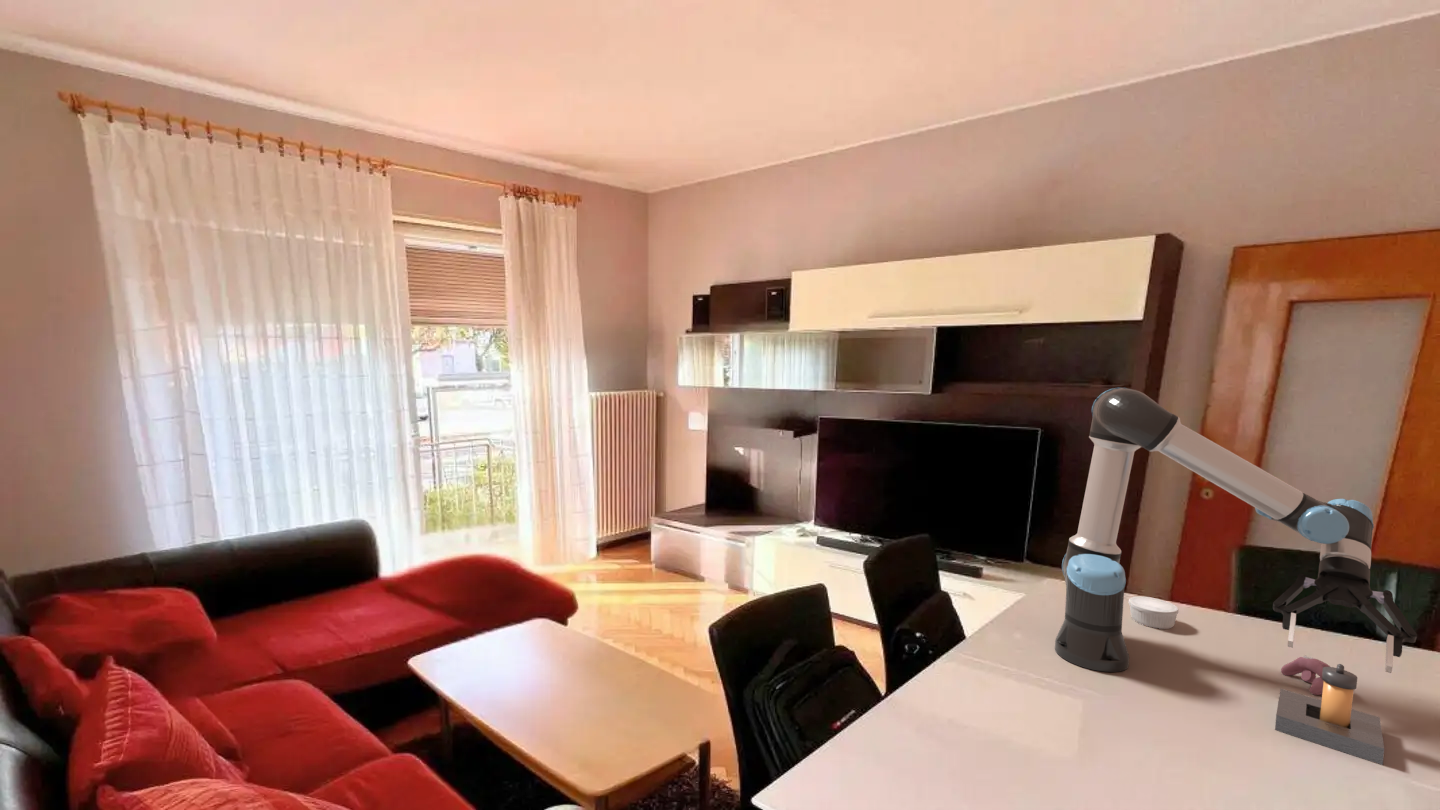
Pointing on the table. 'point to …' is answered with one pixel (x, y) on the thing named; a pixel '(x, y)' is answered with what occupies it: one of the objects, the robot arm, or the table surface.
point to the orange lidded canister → (1337, 695)
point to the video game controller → (1307, 672)
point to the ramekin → (1153, 612)
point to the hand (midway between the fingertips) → (1337, 656)
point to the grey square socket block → (1329, 727)
